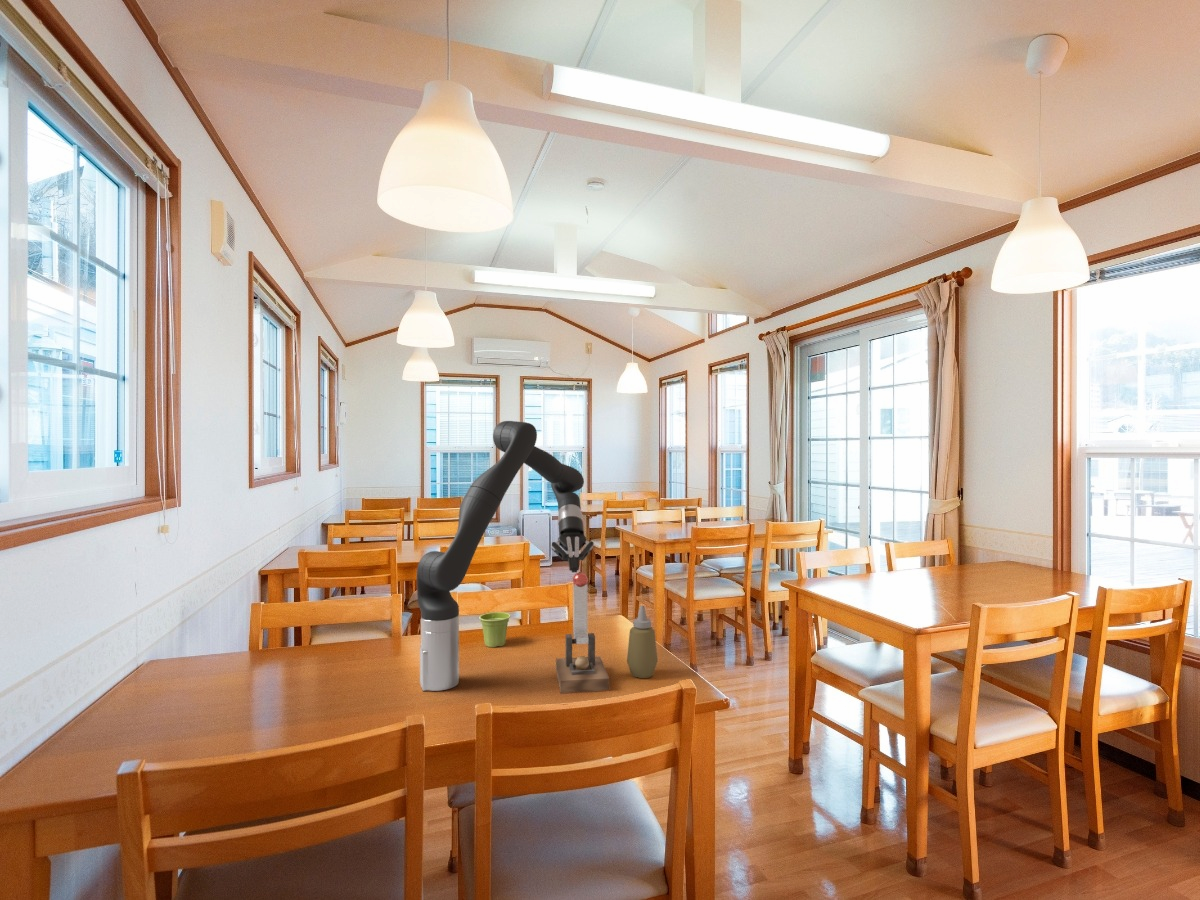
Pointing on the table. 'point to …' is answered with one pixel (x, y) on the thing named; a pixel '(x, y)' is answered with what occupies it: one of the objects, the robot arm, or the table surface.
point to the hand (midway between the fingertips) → (574, 570)
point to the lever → (580, 608)
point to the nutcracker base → (581, 679)
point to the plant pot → (494, 628)
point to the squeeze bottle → (642, 647)
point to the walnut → (582, 663)
